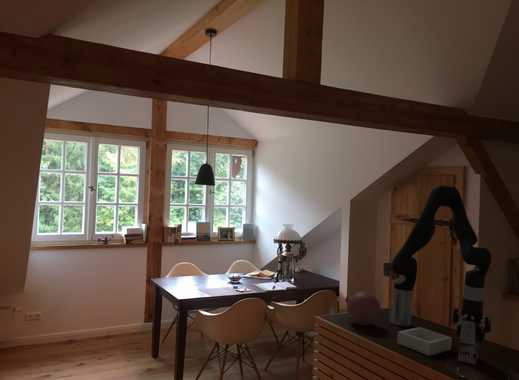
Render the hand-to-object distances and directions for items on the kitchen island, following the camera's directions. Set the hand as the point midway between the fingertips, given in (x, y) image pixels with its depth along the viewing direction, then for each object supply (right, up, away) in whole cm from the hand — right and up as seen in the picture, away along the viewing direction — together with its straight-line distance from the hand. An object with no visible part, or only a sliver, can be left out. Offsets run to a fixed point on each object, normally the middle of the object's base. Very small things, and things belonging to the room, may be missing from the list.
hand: (469, 338), depth 175 cm
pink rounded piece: (-35, -6, +38) cm, 52 cm away
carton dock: (-14, -7, +11) cm, 19 cm away
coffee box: (-1, -8, 0) cm, 9 cm away
